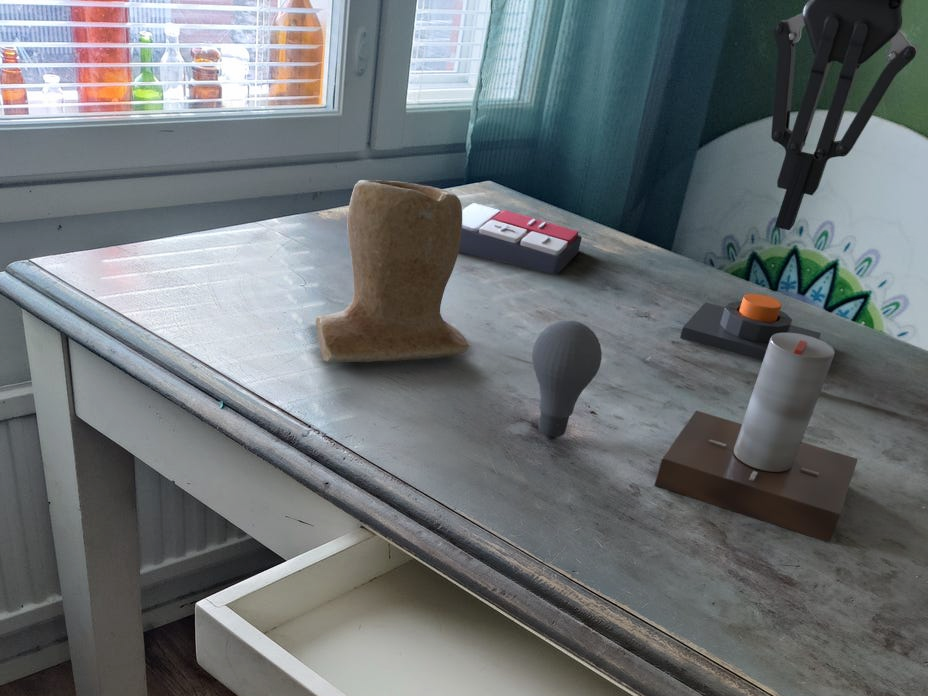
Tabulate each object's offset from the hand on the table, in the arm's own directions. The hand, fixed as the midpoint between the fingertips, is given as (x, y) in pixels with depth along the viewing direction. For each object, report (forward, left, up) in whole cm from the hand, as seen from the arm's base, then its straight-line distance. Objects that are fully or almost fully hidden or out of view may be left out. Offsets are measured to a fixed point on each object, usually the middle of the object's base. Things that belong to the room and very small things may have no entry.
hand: (784, 225), depth 98 cm
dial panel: (-7, +31, -13) cm, 34 cm away
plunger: (0, 0, -9) cm, 9 cm away
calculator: (+32, -9, -13) cm, 36 cm away
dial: (-7, +31, -10) cm, 34 cm away
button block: (0, 0, -13) cm, 13 cm away
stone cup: (+30, +27, -13) cm, 42 cm away
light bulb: (+10, +34, -13) cm, 38 cm away
